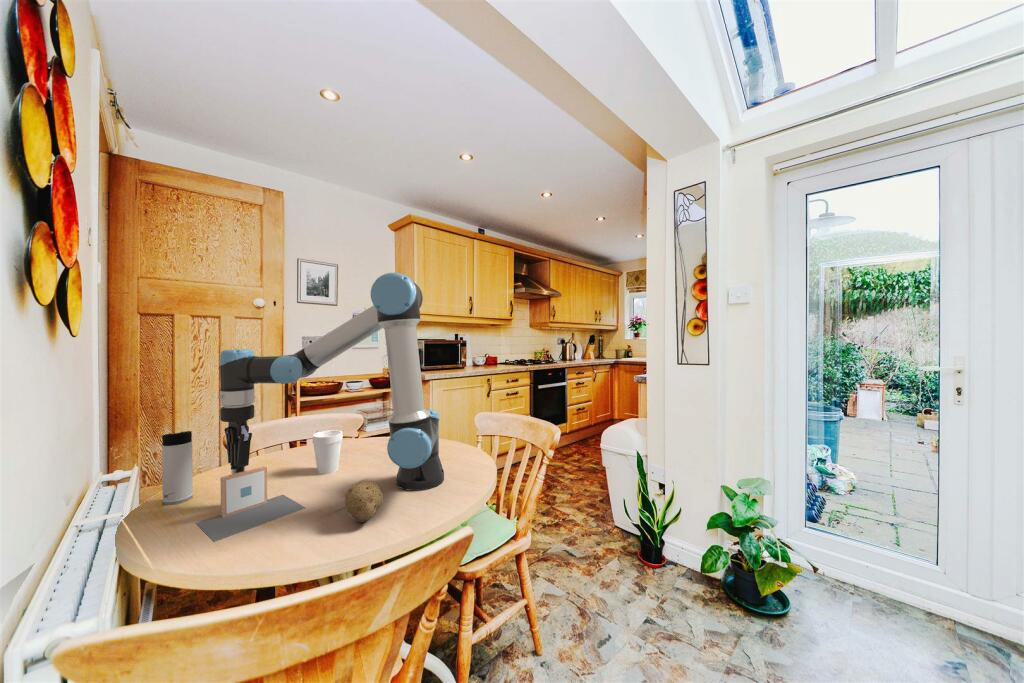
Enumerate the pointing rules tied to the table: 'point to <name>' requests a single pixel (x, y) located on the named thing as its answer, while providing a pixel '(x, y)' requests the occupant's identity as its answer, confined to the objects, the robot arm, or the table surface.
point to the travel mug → (177, 468)
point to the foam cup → (327, 450)
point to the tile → (243, 491)
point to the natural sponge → (363, 500)
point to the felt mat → (248, 518)
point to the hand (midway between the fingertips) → (238, 490)
